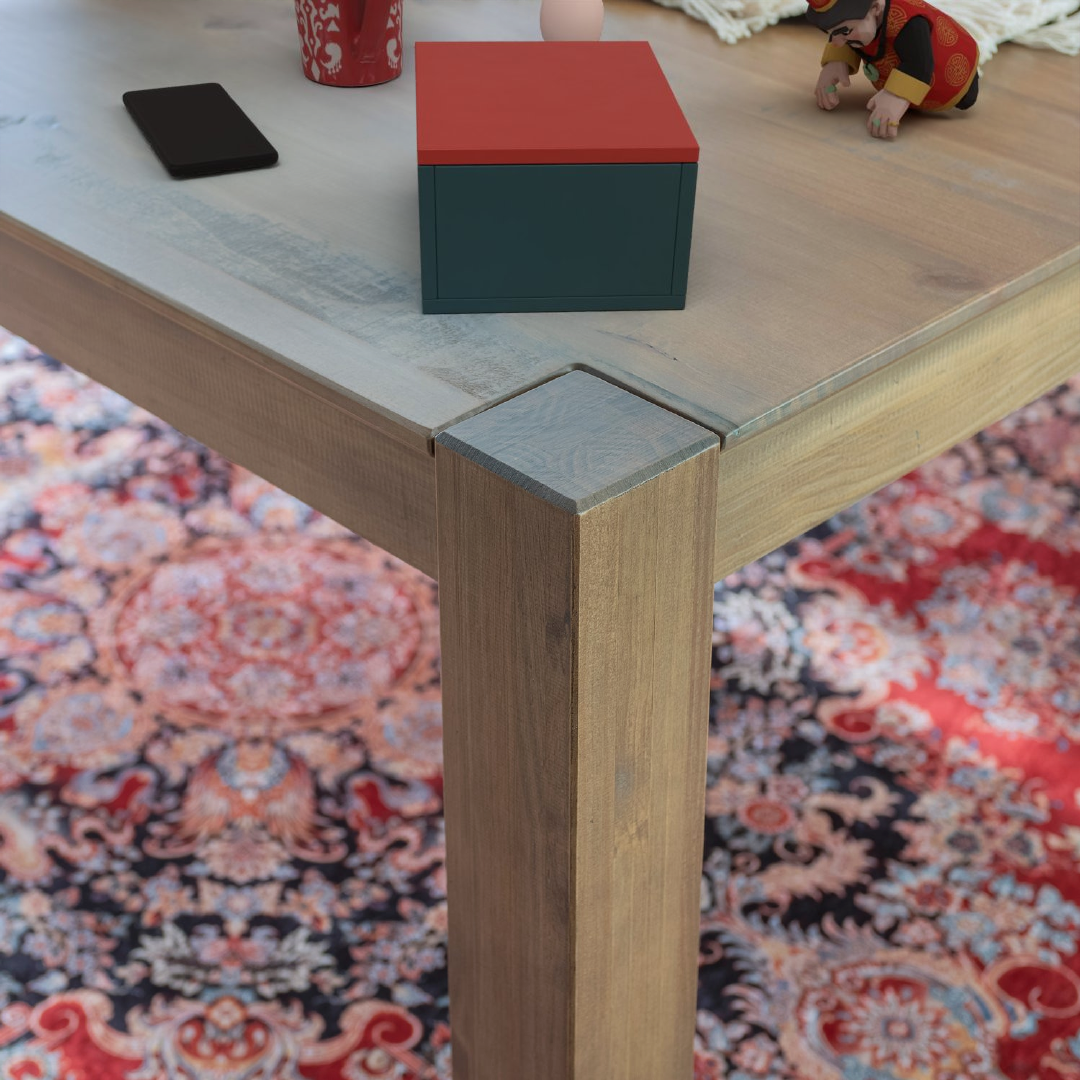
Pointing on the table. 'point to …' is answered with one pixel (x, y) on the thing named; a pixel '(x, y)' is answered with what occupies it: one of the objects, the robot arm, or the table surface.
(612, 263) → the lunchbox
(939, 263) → the table surface
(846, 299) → the table surface
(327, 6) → the mug
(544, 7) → the egg
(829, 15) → the figurine
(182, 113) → the smartphone
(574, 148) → the lid
